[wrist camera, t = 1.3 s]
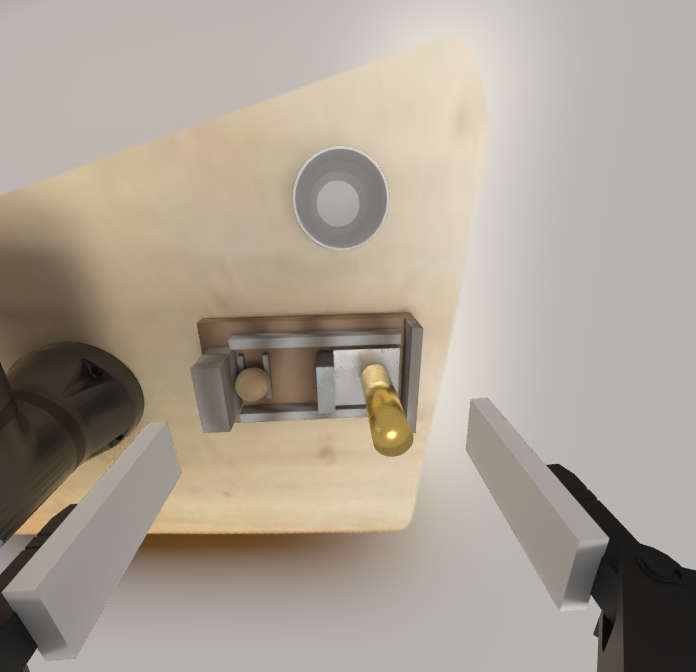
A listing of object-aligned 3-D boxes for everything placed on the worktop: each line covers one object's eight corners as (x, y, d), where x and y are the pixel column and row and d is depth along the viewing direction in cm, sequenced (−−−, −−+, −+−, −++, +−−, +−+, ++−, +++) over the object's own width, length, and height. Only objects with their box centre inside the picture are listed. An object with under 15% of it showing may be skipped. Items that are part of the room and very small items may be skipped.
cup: (376, 237, 38) (392, 244, 29) (307, 245, 38) (301, 255, 29) (370, 159, 35) (386, 140, 26) (296, 168, 35) (284, 151, 26)
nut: (241, 391, 42) (233, 408, 38) (237, 362, 40) (228, 377, 36) (273, 389, 42) (268, 407, 38) (270, 361, 40) (264, 376, 37)
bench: (219, 415, 45) (198, 454, 38) (202, 318, 40) (174, 342, 33) (404, 406, 47) (419, 443, 39) (410, 312, 42) (428, 334, 34)
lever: (319, 399, 43) (316, 477, 30) (316, 345, 40) (312, 407, 27) (394, 396, 43) (423, 471, 31) (397, 343, 41) (429, 401, 28)
